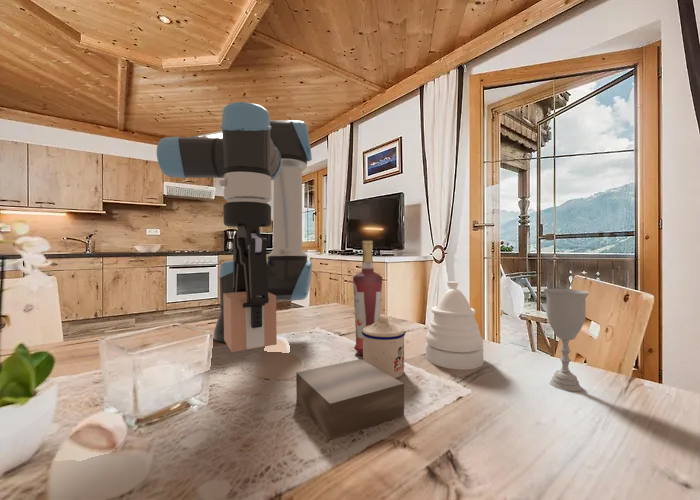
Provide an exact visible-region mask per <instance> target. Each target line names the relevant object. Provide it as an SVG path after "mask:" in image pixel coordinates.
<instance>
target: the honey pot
mask: <svg viewBox="0 0 700 500" xmlns="http://www.w3.org/2000/svg"><path fill="white" fill-rule="evenodd" d="M446 283H447V287H448V288H449V289H448V290H447V291H446V292H445V293H444V294H443V295H442V297H441V299H440V300H439V302H438V304H437V305H435V306H432V307H431V308H430V311H431V312H432V313H433V317H432V319H431V320H430V323H429V327H428V331H427V333H426V336H425V340H426V341H425V359H426V360H427V361H428V362H429V363H431V364H433V365H435V366H438V367H440V368H441V367H442V368H445V369H449V370H472V369H477V368H480V367H482V366H483V364H484V348H483V347H484V340H483V337H482V335H481V330H480V328H479V323H478V322H477V321H476V318H475V314H476V309H474V308H473V307H471V306H470V303H469V301H468V299H467V298H466V296H465V295H464V294H463V292H462V291H460V290H459V289H457V287H458V286H459V281H446Z"/></svg>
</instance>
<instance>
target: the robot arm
mask: <svg viewBox="0 0 700 500" xmlns="http://www.w3.org/2000/svg"><path fill="white" fill-rule="evenodd" d="M220 129H221V130H220V131H215V132H214V131H213V132H210V133H204V134H199V135H194V136H185V137H184V136H183V137H182V136H174V137H172V136H171V137H163V138H161V139H160V140H159V141H158V143H157V146H156V159H157V163H158V166H159V168H160V170H161V172H163V174H164V175H165V176H167V177H169V178H178V179H179V178H181V179H183V180H184V179H201V178H202V179H204V178H205V179H206V178H210V179H214V178H215V179H216V178H217V179H219V178H220V180H219V182H218V183H219V184H218V185H219V186H221V187H224V188H223V199H224V200H225V201H227V202H225V203H224V204H223V206H222V207H223V208H222V209H223V213H222V214H223V224H224V225H223V226H226V227H230V228H231V227H234V228H235V227H236V228H237V230H236V237H234V238H232V240H231V242H232V249H233V250H232V257H233V258H232V260H227V261H224V262H222V263H221V265H220V267H219V270H220V271H219V279H218V280H219V303H220V305H219V306H220V307H219V308H220V309H219V315H218V318H217V321H216V324H215V327H214V329H213V339H214V341H216V342H218V343H222V344H226V342H225V341H224V304H223V293H235V292H246V294H247V303H243V304H242V306H243V308H245V317H246V349H247V350H251V348H253V349H257V347H259V348H264V347H263V346H264V305H265V304H266V303H268V302H269V298H268V292H269V293H271V294H274V295H276V302H277V301H290V302H293V301H303V300H305V299H306V298H307V297H308V296H309V291H310V286H311V280H312V279H311V278H312V272H313V262H312V261H310V260H308V254H307V253H305V252H304V250H303V172H304V171H305V169H307V167H308V162H311V161H312V160H313V158H312V157H313V156H312V150H311V148H312V147H311V143H310V136H309V135H310V134H309V128H308V125H307V124H306V122H305V121H302V120H293V119H290V120H287V119H286V120H285V119H284V120H283V119H282V120H279V119H278V120H277V119H276V120H275V119H273V120H272V119H271V118H270V113H269V111H268V110H267V109H266V108H265V107H263V106H262V105H260V104H256V103H253V102H246V101H236V102H231V103H228V104H227V105H225V106H224V107H223V110H222V117H221V126H220ZM272 181H273V183H272ZM272 185H273V186H272ZM272 187H273V188H272ZM272 190H273V192H272ZM272 195H273V196H272ZM272 197H273V198H272ZM271 201H273V202H272V203H273V204H272V205H273V206H271V204H269V202H271ZM272 213H273V214H272ZM272 217H273V218H272ZM272 219H273V220H272ZM272 221H273V223H272ZM271 225H272V226H273V227H272V232H273V233H272V243H273V244H272V246H273V247H272V248H273V249H272V250H271V251H270V253H268V255H267V250H268V246H267V245H268V240H267V239H268V238H266V237H262V236H261V230H260V228H267V227H270V226H271Z"/></svg>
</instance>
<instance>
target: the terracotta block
mask: <svg viewBox="0 0 700 500" xmlns="http://www.w3.org/2000/svg"><path fill="white" fill-rule="evenodd" d="M268 298H269V302H268V303H266V304H265V305H264V346H263V347H262V348H264V347H270V346H276V345H277V344H278V343H277V337H278V336H277V334H278V333H277V301H276V295H274V294H271V293H269V292H268ZM243 303H247V294H246V292H235V293H223V304H224V341H225V342H226V343H225V344H226V345H227V347H228V349H229V350H230V352H231V353H234V352H239V351H246V350H248V349H246V317H245V308H243V306H242V304H243ZM257 348H258V349H259V348H260V347H257ZM257 348H256V349H257ZM251 349H252V350H253V349H254V348H251ZM251 349H250V350H251Z"/></svg>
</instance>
